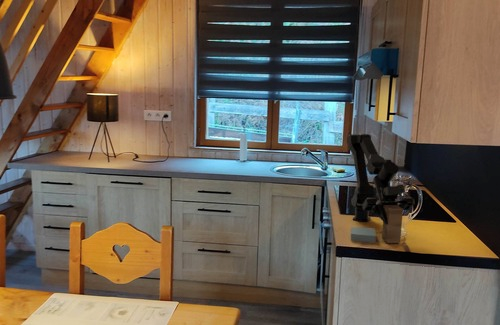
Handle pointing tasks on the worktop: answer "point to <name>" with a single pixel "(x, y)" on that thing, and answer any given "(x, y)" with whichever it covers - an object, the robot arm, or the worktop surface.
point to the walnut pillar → (392, 224)
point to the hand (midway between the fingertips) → (393, 224)
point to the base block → (363, 234)
